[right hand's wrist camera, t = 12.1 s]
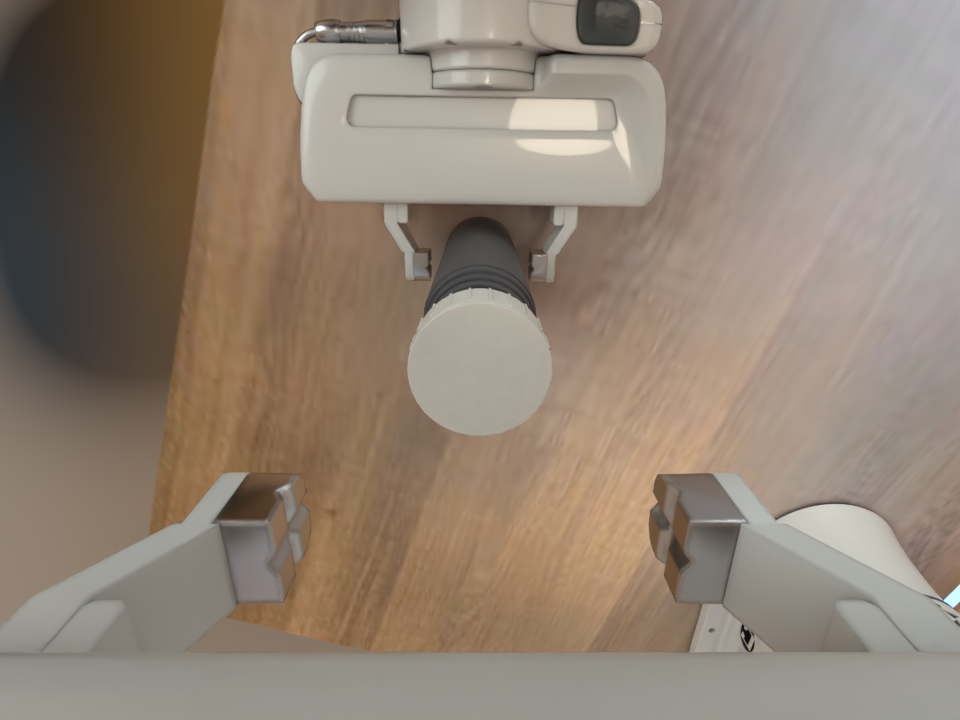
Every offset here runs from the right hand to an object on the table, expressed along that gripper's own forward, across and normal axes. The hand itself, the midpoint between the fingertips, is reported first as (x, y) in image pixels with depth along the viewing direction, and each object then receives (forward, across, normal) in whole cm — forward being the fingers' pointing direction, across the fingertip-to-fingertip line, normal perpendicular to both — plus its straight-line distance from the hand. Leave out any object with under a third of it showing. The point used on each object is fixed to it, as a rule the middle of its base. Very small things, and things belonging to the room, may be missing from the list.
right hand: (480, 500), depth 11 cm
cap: (+7, 0, 0) cm, 7 cm away
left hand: (+23, 0, -1) cm, 23 cm away
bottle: (+29, 0, 0) cm, 29 cm away
